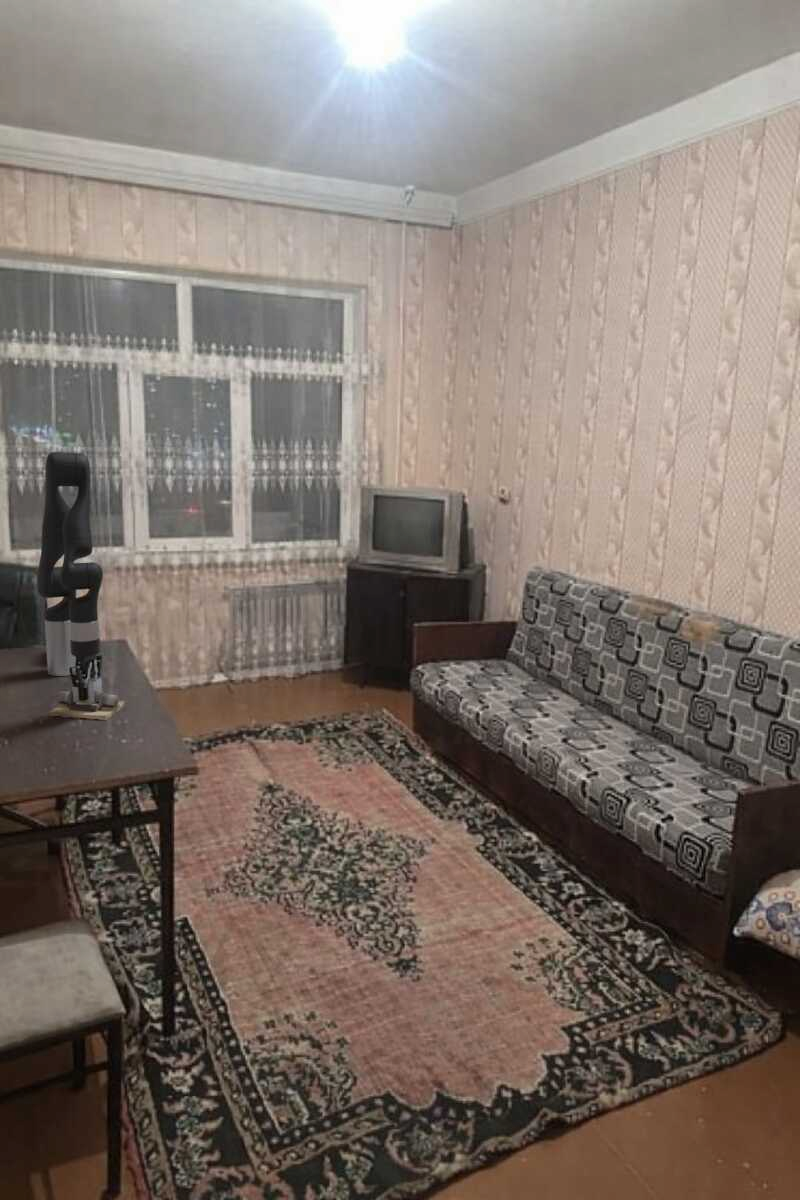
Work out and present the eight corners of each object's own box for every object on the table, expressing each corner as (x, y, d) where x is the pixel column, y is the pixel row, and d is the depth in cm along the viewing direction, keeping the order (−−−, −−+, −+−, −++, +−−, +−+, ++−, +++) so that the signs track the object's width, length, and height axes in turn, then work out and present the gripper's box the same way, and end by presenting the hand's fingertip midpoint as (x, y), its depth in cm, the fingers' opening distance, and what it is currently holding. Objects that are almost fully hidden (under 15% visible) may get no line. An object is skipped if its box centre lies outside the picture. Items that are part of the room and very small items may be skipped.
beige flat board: (72, 701, 234) (70, 682, 233) (126, 705, 233) (125, 685, 231) (49, 716, 223) (48, 695, 222) (106, 720, 221) (105, 699, 220)
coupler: (102, 698, 229) (101, 677, 228) (94, 703, 224) (93, 682, 223) (81, 696, 230) (80, 675, 228) (73, 702, 225) (72, 680, 224)
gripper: (85, 644, 216) (88, 707, 220) (110, 630, 230) (113, 690, 233) (57, 642, 217) (61, 705, 220) (84, 629, 231) (87, 688, 234)
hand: (88, 697), depth 227 cm, fingers closed on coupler, 4 cm apart
